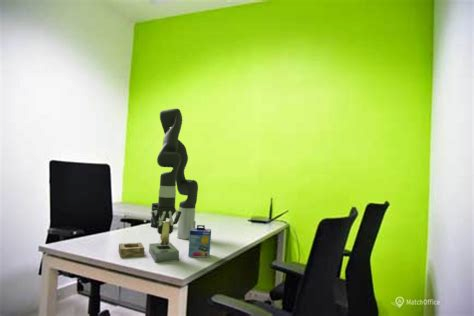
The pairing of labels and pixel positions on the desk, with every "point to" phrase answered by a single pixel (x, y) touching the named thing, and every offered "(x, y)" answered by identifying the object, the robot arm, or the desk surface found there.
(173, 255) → the block with square hole
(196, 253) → the ink cartridge box
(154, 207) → the storage jar
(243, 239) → the desk surface
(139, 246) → the socket block
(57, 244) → the desk surface
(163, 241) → the axle
